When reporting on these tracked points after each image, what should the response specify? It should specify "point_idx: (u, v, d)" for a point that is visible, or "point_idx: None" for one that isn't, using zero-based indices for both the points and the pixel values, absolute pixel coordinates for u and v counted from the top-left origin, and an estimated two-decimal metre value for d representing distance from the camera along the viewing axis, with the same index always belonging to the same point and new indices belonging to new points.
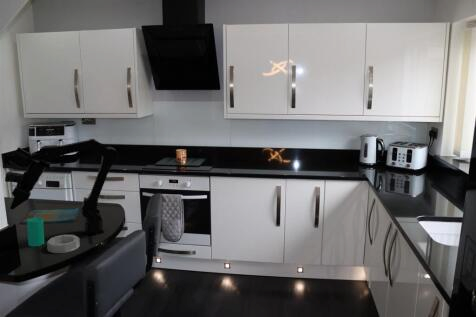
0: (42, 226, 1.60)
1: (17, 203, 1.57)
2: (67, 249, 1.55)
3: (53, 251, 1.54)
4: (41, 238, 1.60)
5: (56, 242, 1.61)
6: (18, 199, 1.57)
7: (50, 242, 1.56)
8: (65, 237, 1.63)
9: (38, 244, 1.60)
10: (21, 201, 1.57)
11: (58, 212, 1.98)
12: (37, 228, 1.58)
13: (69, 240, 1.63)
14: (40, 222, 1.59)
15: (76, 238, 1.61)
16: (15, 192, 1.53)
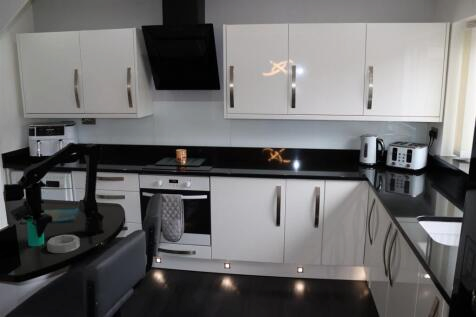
0: None
1: (43, 229, 1.58)
2: (67, 249, 1.55)
3: (53, 251, 1.54)
4: (41, 238, 1.60)
5: (56, 242, 1.61)
6: (41, 226, 1.58)
7: (50, 242, 1.56)
8: (65, 237, 1.63)
9: (38, 244, 1.60)
10: (45, 225, 1.58)
11: (58, 212, 1.98)
12: None
13: (69, 240, 1.63)
14: None
15: (76, 238, 1.61)
16: (39, 222, 1.52)
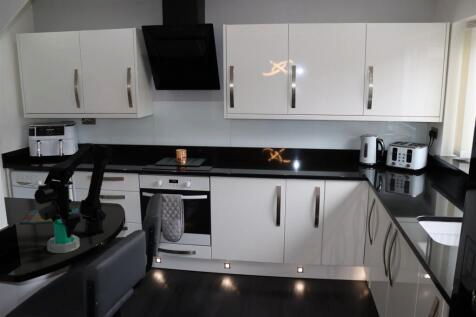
0: (65, 230, 1.56)
1: (72, 229, 1.55)
2: (67, 249, 1.55)
3: (53, 251, 1.54)
4: (64, 242, 1.56)
5: None
6: (70, 226, 1.54)
7: (50, 242, 1.56)
8: None
9: None
10: (74, 225, 1.55)
11: None
12: (59, 231, 1.55)
13: None
14: (62, 225, 1.55)
15: (76, 238, 1.61)
16: (68, 222, 1.50)
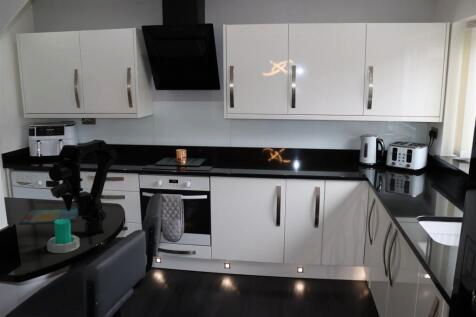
0: (66, 230, 1.56)
1: (83, 208, 1.57)
2: (67, 249, 1.55)
3: (53, 251, 1.54)
4: (64, 242, 1.56)
5: None
6: (81, 204, 1.57)
7: (50, 242, 1.56)
8: None
9: None
10: (85, 204, 1.57)
11: (58, 212, 1.98)
12: (59, 231, 1.55)
13: None
14: (63, 225, 1.55)
15: (76, 238, 1.61)
16: (80, 200, 1.52)
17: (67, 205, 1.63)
